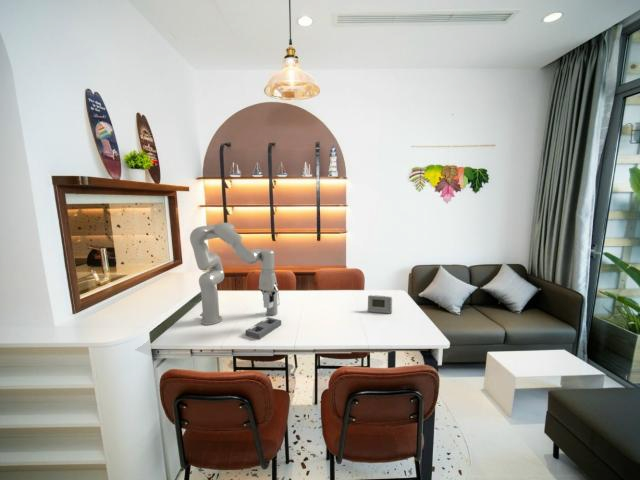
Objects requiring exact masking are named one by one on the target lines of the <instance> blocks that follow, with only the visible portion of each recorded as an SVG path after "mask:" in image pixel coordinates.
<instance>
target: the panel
mask: <svg viewBox="0 0 640 480" xmlns="http://www.w3.org/2000/svg"><path fill="white" fill-rule="evenodd" d="M280 326H282V319H278V318H273V317H270V316H269V317H266V318H264V319H262V320H261V321H259V322H257V323H256V324H254V325H252V326H250V327H249V328H246V330H244V331H245V336H246V337H250V338H253V339H257V340H261V339H262V338H264V337H265V336H267V335H269V334H270V333H272V332H273V331H275V330H276V329H277V328H279V327H280Z"/></svg>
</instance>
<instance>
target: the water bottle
mask: <svg viewBox="0 0 640 480" xmlns="http://www.w3.org/2000/svg"><path fill="white" fill-rule="evenodd" d="M276 281H277V279H276ZM278 286H279V283H277V289H278V290H279V288H278ZM274 291H275V290H274ZM279 294H280V293H278V292H276V293H275V295H274V301H273V307H271V308H266V314H267V316H271V317H272V316H275V315H277V314H278V306H280V303H278V300H280V296H279Z"/></svg>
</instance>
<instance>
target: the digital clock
mask: <svg viewBox="0 0 640 480" xmlns="http://www.w3.org/2000/svg"><path fill="white" fill-rule="evenodd" d="M367 312H368V313H369V312H370V313H378V314H392V313H393V297H392V296H387V295H375V294H374V295H373V294H369V295H367Z"/></svg>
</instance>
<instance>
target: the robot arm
mask: <svg viewBox="0 0 640 480" xmlns="http://www.w3.org/2000/svg"><path fill="white" fill-rule="evenodd" d="M212 239H220V240H221V241H222V242H224V243H225V244H227V246H229V247H230V248H232V250H233V252H234V254H235V255H236V256H237V257H238V258H239V259H241V260H242V261H243V262H244V263H246V264H249V265H254V264H256V263H259V262H260V264H261V266H260V268H259V269H260V271H261V272H260V273H259V278H258V289H259V290H260V292H261V294H262V301H263V302H264V292H266V291H270V302H273V301H274V295H275V293H276V292H277V293H279V288H278V289H277V287H278V286H277V284H278V282H277V281H276V280H277V276H276V273H275V251H274V250H273V249H263V248H254V249H251V250H250V249H249V248H247V247H246V246H245V245H244V243H242V240H243V237H242V235H240V234H239V233H238V232H236V228H235V226H234V224H233V223H232V222H222V223H218V224H217V223H215V224H211V225H202V226H201V225H200V226H199V227H198V226H197V227H195V228H194V229H192V231H191V232H190V235H189V241H190V245H191V247H192V249H193V255H194V259H195V262H196V265H197V268H198V269H199V270H200V271H206V272H204V273H202V274H201V275H200V276H199V278H198V285H199V287H200V288H199V289H200V295H201V296H200V297H201V307H202V308H201V309H202V312H201V314H199V316H200V317H201V319H200V324H201V325H205V326H210V325H216V324H218V323H220V322H222V320H223V317H222V316H221V315H220V307H219V306H220V305H219V293H218V289H217V287H216V286H217V285H218V284H220V283H222V282H223V281H224V279H225V271H224V268H223V264H222V260H221V257H220V256H219V254H217V253H215V252H210V249H209V245H208V244H207V243H206V241H207V240H212ZM207 270H208V271H207ZM274 290H275V291H274Z"/></svg>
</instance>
